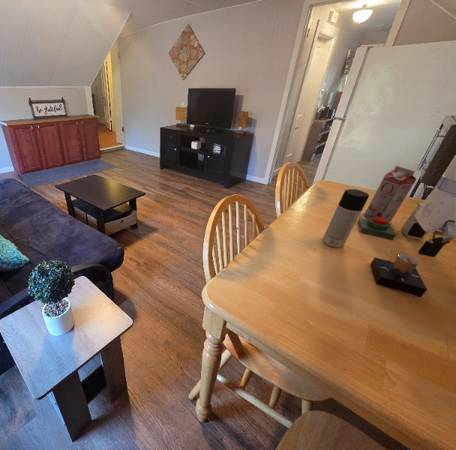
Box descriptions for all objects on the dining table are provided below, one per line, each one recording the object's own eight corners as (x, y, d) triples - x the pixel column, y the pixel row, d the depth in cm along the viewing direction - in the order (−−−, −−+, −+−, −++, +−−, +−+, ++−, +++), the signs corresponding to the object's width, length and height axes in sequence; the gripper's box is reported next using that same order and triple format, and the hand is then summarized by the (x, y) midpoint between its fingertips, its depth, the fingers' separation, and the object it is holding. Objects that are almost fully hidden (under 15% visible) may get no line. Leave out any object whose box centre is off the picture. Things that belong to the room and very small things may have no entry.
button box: (387, 228, 98) (392, 220, 95) (393, 239, 91) (398, 231, 89) (357, 222, 102) (361, 213, 100) (360, 232, 95) (365, 223, 93)
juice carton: (378, 222, 101) (408, 172, 90) (363, 215, 107) (389, 166, 95) (391, 221, 103) (421, 170, 91) (375, 213, 108) (402, 165, 97)
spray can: (348, 247, 87) (375, 196, 76) (331, 249, 86) (356, 197, 75) (333, 236, 92) (357, 187, 82) (317, 238, 91) (339, 188, 81)
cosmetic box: (399, 230, 97) (417, 202, 90) (412, 231, 96) (431, 204, 89) (410, 239, 91) (429, 210, 85) (423, 240, 91) (444, 212, 84)
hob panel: (410, 275, 75) (416, 267, 73) (420, 297, 67) (427, 289, 66) (370, 264, 79) (374, 256, 77) (376, 284, 71) (381, 276, 70)
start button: (383, 221, 95) (385, 218, 94) (385, 226, 92) (387, 222, 91) (372, 219, 96) (374, 215, 96) (373, 223, 94) (376, 219, 93)
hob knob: (387, 265, 74) (397, 251, 71) (406, 269, 72) (416, 256, 70) (391, 274, 71) (401, 260, 68) (411, 279, 69) (422, 265, 66)
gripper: (426, 173, 66) (394, 226, 75) (454, 197, 53) (411, 259, 62) (465, 177, 62) (426, 233, 71) (504, 205, 50) (451, 268, 59)
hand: (419, 245), depth 67 cm, fingers open, 9 cm apart
